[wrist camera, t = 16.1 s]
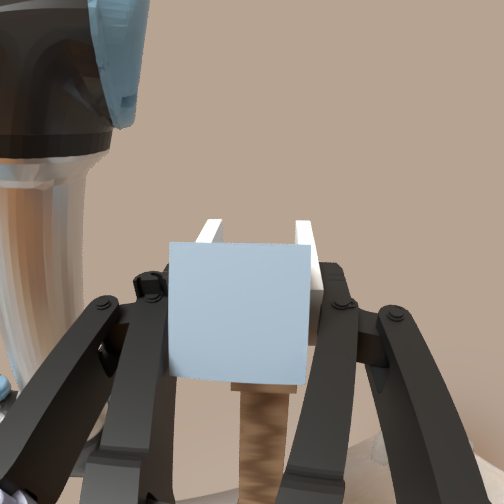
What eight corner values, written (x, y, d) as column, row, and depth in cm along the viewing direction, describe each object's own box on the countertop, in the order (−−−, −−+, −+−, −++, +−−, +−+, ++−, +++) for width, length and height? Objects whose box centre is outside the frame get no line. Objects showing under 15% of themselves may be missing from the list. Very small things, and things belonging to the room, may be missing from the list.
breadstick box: (169, 375, 9) (170, 241, 9) (240, 306, 27) (241, 259, 27) (305, 384, 8) (311, 244, 9) (288, 308, 26) (289, 260, 27)
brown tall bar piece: (231, 539, 31) (231, 373, 32) (238, 504, 40) (240, 352, 41) (280, 542, 30) (297, 376, 31) (281, 506, 39) (293, 354, 40)
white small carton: (403, 453, 51) (412, 414, 52) (383, 465, 48) (393, 425, 49) (391, 447, 55) (399, 409, 55) (371, 459, 52) (379, 419, 52)
